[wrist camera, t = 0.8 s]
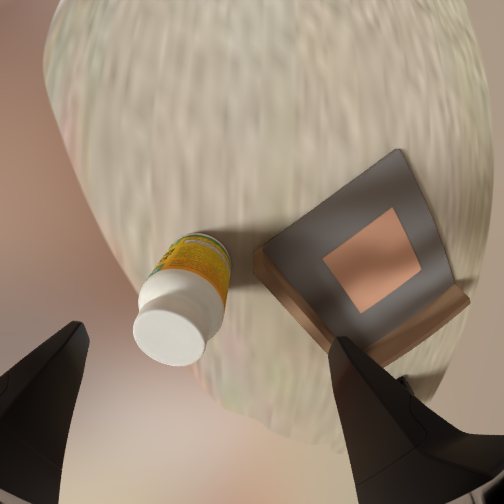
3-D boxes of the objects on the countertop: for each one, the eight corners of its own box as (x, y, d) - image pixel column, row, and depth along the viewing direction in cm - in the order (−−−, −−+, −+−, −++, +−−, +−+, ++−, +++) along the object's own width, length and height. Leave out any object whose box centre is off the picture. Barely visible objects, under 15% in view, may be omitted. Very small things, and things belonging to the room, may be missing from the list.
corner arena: (453, 285, 23) (470, 303, 20) (347, 360, 26) (355, 384, 23) (395, 148, 18) (418, 152, 15) (253, 252, 22) (253, 273, 18)
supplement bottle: (219, 299, 23) (202, 386, 15) (161, 277, 23) (117, 354, 14) (242, 245, 21) (233, 322, 13) (177, 220, 21) (126, 282, 12)
